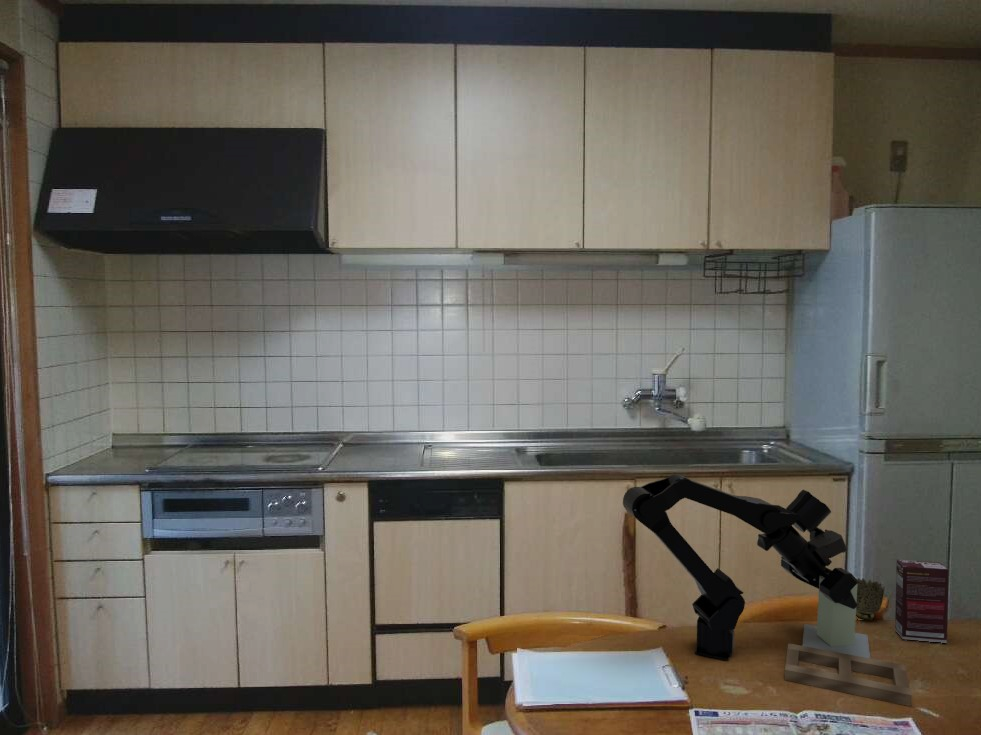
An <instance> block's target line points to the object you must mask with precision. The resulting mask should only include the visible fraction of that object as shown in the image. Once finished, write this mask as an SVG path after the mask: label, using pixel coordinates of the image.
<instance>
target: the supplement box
mask: <svg viewBox="0 0 981 735" xmlns="http://www.w3.org/2000/svg"><path fill="white" fill-rule="evenodd" d="M895 569H896V570H895V571H896V573H895V574H896V575H895V612H894V613H895V616H894V617H895V618H894V619H895V620H894V621H895V622H894V632H895V631H896V632H897V633H898V634H899V635H900V636H901V637H902V639H910V640H919V641H929V642H928V643H930V642H941V643H940V644H942V643H948V622H949V621H948V620H949V619H948V617H949V570H950V569H949V568H948V567H946V566H945V565H944V564H942V563H941V562H938V561H926V560H924V561H923V560H911V559H909V560H908V559H896V568H895ZM896 632H895V633H896ZM897 633H896V634H897ZM898 634H897V635H898ZM899 635H898V636H899ZM900 636H899V637H900ZM902 639H901V640H902ZM919 641H918V642H919Z"/></svg>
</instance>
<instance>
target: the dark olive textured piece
mask: <svg viewBox="0 0 981 735" xmlns="http://www.w3.org/2000/svg"><path fill="white" fill-rule="evenodd" d="M857 578H858V585H857V607H856V618H858V619H859V620H862V621H868V622H869V621H872V620H873V619H874V618H875V615H874V614H877V613H878V612H879V611H880V609H881V607H882V604H883V601H884V595H885V593H884V592H885V588H886V586H885V585H884V586H883V587H882V583H881V582H880V583H879V581H878V580H875V581H872V580H871V579H868V581H867V580H866V579H865V578H862V579H860V578H859V577H857Z"/></svg>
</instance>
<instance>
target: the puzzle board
mask: <svg viewBox="0 0 981 735" xmlns="http://www.w3.org/2000/svg"><path fill="white" fill-rule="evenodd" d="M785 658H786V659H785V666H784V681H788V682H793V683H796V684H802V685H807V686H812V687H816V688H820V689H825V690H831V691H836V692H841V693H845V694H850V695H855V696H860V697H863V698H864V697H865V698H869V699H874V700H879V701H884V702H888V703H894V704H898V705H903V706H907V707H912V693H911V688H910V684H909V681H908V680H909V679H908V674H907V670H906V666H905V664H902V663H901V664H900V663H895V662H893V661H892V662H891V661H886V660H880V659H875V658H871V657H870V658H865V657H860V656H854V655H849V654H844V653H838V652H833V651H827V650H822V649H817V648H811V647H806V646H802V644H801V645H799V644H794V643H789V642H788V645H787V651H786V657H785ZM799 662H805V663H810V664H816V665H820V666H825V667H831V668H835V669H838V673H835V672H829V671H824V670H819V669H815V668H809V667H804V666H801V665H800V666H799ZM851 670H852V671H851ZM852 672H855V673H860V672H861V673H860V674H865V675H871V676H877V677H881V676H882V678H886V677H887V679H891V678H893V679H892V681H893V684H890V683H885V682H879V681H875V680H870V679H865V678H860V677H855V676H853V675H852Z"/></svg>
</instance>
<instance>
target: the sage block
mask: <svg viewBox="0 0 981 735" xmlns="http://www.w3.org/2000/svg"><path fill="white" fill-rule="evenodd" d="M829 569H830V568H829ZM833 569H834V568H831V569H830V570H833ZM826 574H827V573H826ZM852 575H853V576H854V577H855V578H856V579H857V580H858V578H859V577H857V576H855V575H854V574H852ZM822 581H823V579H822V578H820V579H819V584H820V583H821V582H822ZM857 585H858V583H857V584H856V585H855V586H854V587H853V589H852V590H851V593H852V595H853V597H854V599H855V601H856V603H857ZM817 602H818V603H817V617H816V618H817V619H816V626H817V635H818V636H819V637H820V638H821V639H822V640H824V641H825V642H826V643H827V644H829V645H830V646H850V645H854V637H855V633H856V632H855V631H856V619H857V616H856V608H855V609H852V608H849V607H847V606H844V605H842V604H839V603H834V602H833V601H831V600H830V599H828V598H826V597H825V595H823V594H822V593H821V592H820V591H819V590H818V600H817Z"/></svg>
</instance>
